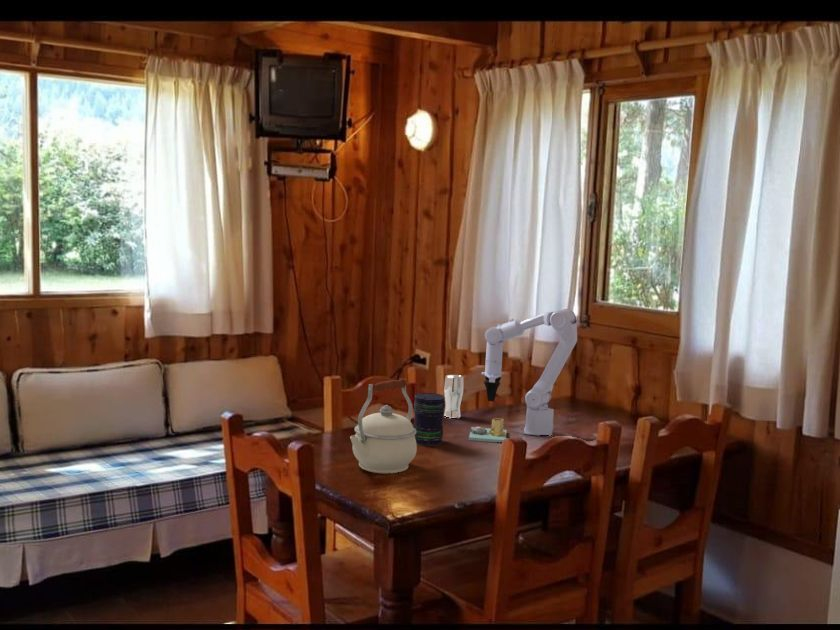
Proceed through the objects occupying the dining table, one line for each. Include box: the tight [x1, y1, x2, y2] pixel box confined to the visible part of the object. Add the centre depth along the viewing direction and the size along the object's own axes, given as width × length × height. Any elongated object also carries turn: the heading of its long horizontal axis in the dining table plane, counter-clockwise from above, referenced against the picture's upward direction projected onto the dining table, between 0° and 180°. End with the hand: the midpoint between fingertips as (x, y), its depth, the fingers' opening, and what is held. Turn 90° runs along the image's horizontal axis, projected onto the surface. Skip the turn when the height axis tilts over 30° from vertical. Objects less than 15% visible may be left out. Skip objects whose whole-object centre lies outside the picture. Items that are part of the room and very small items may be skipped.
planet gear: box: [489, 417, 505, 436], centre depth 275 cm, size 5×5×5 cm
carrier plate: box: [468, 426, 507, 443], centre depth 276 cm, size 12×14×4 cm
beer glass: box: [443, 374, 465, 419], centre depth 301 cm, size 7×7×15 cm
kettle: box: [349, 377, 418, 475], centre depth 234 cm, size 25×18×25 cm
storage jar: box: [412, 392, 446, 447], centre depth 265 cm, size 10×10×15 cm
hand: (491, 398), depth 291 cm, fingers open, 7 cm apart
